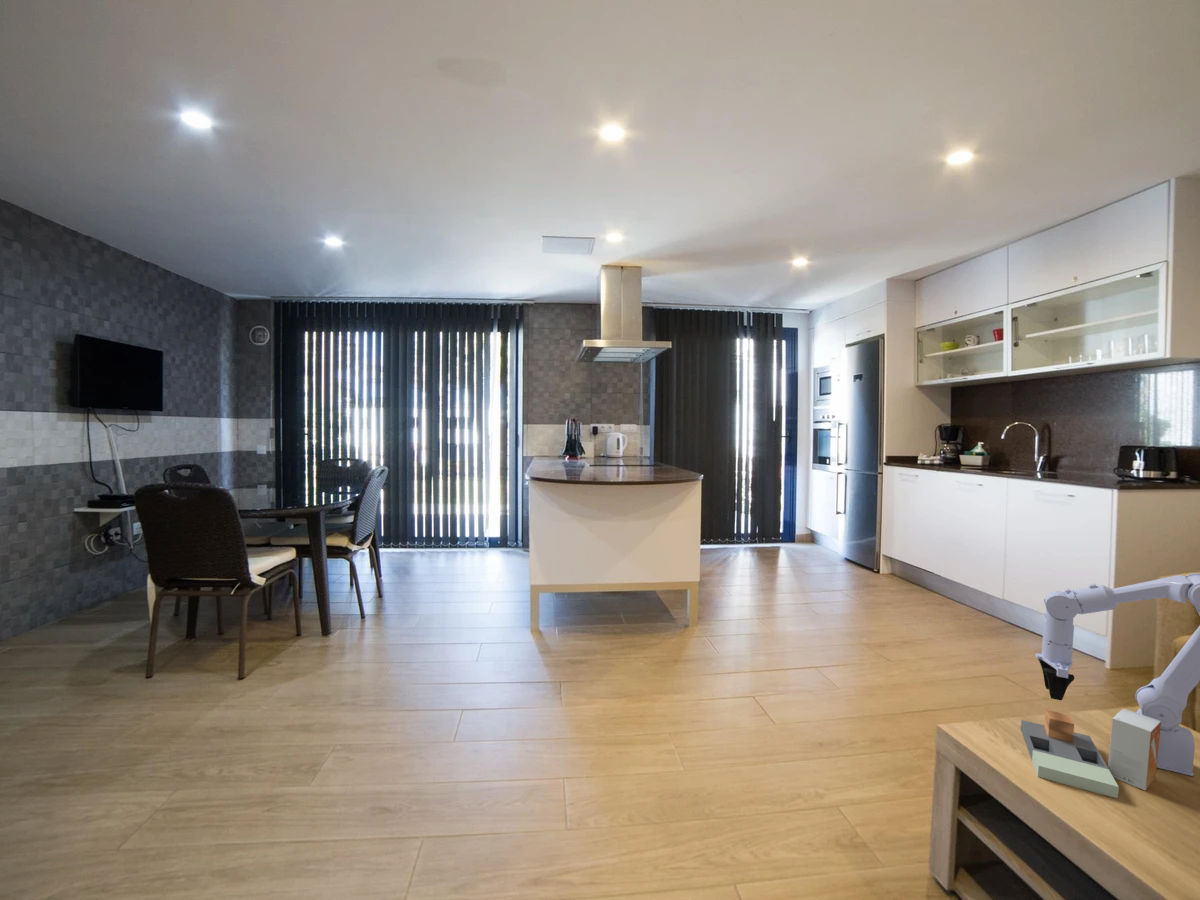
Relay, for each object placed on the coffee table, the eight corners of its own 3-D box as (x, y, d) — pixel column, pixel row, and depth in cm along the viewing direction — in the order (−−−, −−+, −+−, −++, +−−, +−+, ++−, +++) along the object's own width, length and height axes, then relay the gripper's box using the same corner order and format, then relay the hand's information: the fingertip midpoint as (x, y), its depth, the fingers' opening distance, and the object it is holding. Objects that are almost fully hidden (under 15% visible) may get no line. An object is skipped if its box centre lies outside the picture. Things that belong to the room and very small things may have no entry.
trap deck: (1088, 746, 130) (1089, 735, 130) (1117, 798, 112) (1118, 786, 112) (1020, 729, 137) (1021, 719, 137) (1037, 776, 119) (1038, 765, 118)
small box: (1146, 792, 114) (1151, 732, 114) (1106, 775, 120) (1111, 717, 119) (1157, 778, 119) (1162, 720, 118) (1117, 762, 124) (1122, 707, 123)
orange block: (1067, 733, 131) (1069, 714, 131) (1072, 742, 127) (1074, 723, 127) (1044, 727, 133) (1045, 709, 133) (1048, 736, 130) (1049, 718, 129)
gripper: (1031, 627, 143) (1028, 678, 144) (1043, 647, 131) (1039, 702, 132) (1066, 633, 140) (1062, 685, 141) (1081, 654, 127) (1077, 710, 128)
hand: (1053, 694), depth 136 cm, fingers open, 5 cm apart
